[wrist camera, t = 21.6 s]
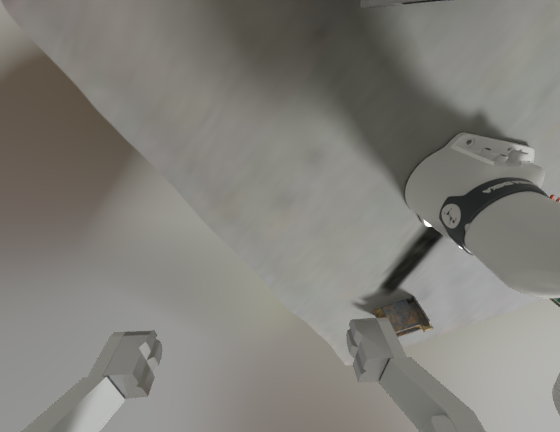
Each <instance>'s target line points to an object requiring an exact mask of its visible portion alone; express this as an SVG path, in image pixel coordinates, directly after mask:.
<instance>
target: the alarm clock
mask: <svg viewBox="0 0 560 432" xmlns="http://www.w3.org/2000/svg"><path fill="white" fill-rule="evenodd" d="M442 1H453V0H360V7H362V8H368V7H382V6H395V5H407V4H419V3H430V2H442Z"/></svg>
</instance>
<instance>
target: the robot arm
mask: <svg viewBox="0 0 560 432" xmlns="http://www.w3.org/2000/svg"><path fill="white" fill-rule="evenodd" d="M468 140H469V141H468ZM467 141H468V142H467ZM533 161H534V148H532V147H530V146H527V145H523V144H518V143H513V142H508V141H504V140H499V139H494V138H489V137H485V136H480V135H475V134H470V133H466V132H462V133H459V134H458V135H456V136H455V137H454V138H453V139H452V140H451V141H450V142H449V143H448V144H447V145H446V146H445V147H443V148H442V149H440V150H438V151H437V152H435V153H433V154H432V155H430V156H429V157H427V158H426V159H425V160H424V161H422V162H421V163H420V164H419V165H418V166H417V168H416V169H415V170H414V171H413V173H412V174H411V176H410V178H409V180H408V182H407V185H406V189H405V199H406V203H407V205H408V206H409V208H410V209H411V210H412V211H414V212H415V213H416V214H418V215H419V216H420V219H421V221H422V223H423V224H424V225H426V226H427V227H431V226H432V227H434V228H435V229H436V230H437V231H439V232H440V233H441V234H443V235H444V236H445V237H446V238H448V239H449V240H451V241H454V242H455V243H456V244H457V245H458V246H459V247H460V248H461V249H463V250H464V251H466V252H467V253H469V254H471V255H473V256H475V257H476V258H477V259H479V260H480V261H481V262H482V263H483V264H484V265H485V266H486V267H487V268H488V269H489V270H490V271H492V272H493V273H494V274H495V275H496V276H497V277H498V278H499V279H500V280H501V281H502V282H504V283H505V284H506V285H507V286H508V287H509V288H511V289H513V290H515V291H517V292H520V293H523V294H526V295H529V296H533V297H538V298H560V203H559V202H558V201H559V200H560V198H558V199H557V200H556V201H554V196H555V195H551V196H550V198H549V197H548V196H547V194H546V193H545V192H543V191H542V190H541V187H542V184H543V181H544V171H543V169H542V168H541V167H539V166H537V165H534V164H533ZM349 326H350V329H349V330H348V331H347V335H346V336H347V346H348V350H349V353H350V355H351V356H352V357H353V358H354V359H355V360H354V363H353V367H354V370H355V373H356V377H357V380H358V382H378V381H379V384H380V385H381V386H382V387H383V388H384V390H385V391H386V392H387V393H388V394H389V396H390V397H391V398H392V399H393V400H394V402H395V403H396V404H397V405H398V406H399V407H400V409H401V410H402V411H403V412H404V413H405V415H406V416H407V417H408V418H409V419H410V421H411V422H412V423H413V424H414V425H415V426H416V428H417V429H418V430H419V432H485V430H484V428H483V427H482V425H481V423H480V421H479V420H478V418H477V416H476V415H475V413H474V412H473V411H472V410H471V409H470V408H469V407H468V406H466V405H465V404H464V403H463V402H462V401H460V400H459V399H458V398H457V397H456V396H455V395H454V394H453V393H451V392H450V391H449V390H448V389H447V388H446V387H444V386H443V385H442V384H441V383H440V382H439V381H438V380H436V379H435V378H434V377H433V376H432V375H431V374H429V373H428V372H427V371H426V370H425V369H424V368H422V367H421V366H420V365H419V364H418V363H417V362H416V361H415V360H413V359H412V358H411V357H407V356H406V354H405V352H404V350H403V348H402V346H401V344H400V342H399V340H398V338H397V336H396V334H395V332H394V329H393V327H392V325H391V323H390V321H389V320H388V319H387V318H366V319H353V320H350V323H349ZM156 336H157V334H156V332H155V331H154V330H153V331H136V332H115V333H113V334H112V335H111V336H110V338H109V339H108V341H107V343H106V345H105V346H104V348H103V350H102V352H101V354H100V355H99V357H98V359H97V361H96V363H95V364H94V366H93V368H92V370H91V372H90V374H89V375H88V377H86V378H83V379H81V380H80V381H79V382H78V383H77V384H75V385H74V386H73V387H72V388H71V389H70V390H69V391H68V392H66V393H65V394H64V395H63V396H62V397H61V398H59V400H57V401H56V402H55V403H54V404H52V405H51V406H50V407H49V408H48V409H47V410H46V411H44V412H43V413H42V414H41V415H40V416H39V417H38V418H37V419H35V420H34V421H33V422H32V423H31V424H30V425H28V426H27V427H26V428H25V429H24V430H23V431H21V432H99V431H100V430H101V429H102V428H103V426H104V425H105V424H106V423H107V422H108V420H109V419H110V418H111V417H112V416H113V414H114V413H115V412H116V411H117V410H118V408H119V407H120V406H121V405H122V404H123V402H124V401H125V399H127V398H137V397H147V396H148V395H149V392H150V389H151V386H152V383H153V380H154V374H153V371H154V370H155V368H156V367H157V366H158V365H159V363H160V360H161V355H162V345H161V342H160V341H159V340H157V339H156ZM552 393H553V401H554V404H555V406H556V409H557V411H558V413H559V415H560V373H559V375H558V378H557V380H556V382H555V385H554V387H553V392H552Z"/></svg>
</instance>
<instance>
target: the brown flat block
mask: <svg viewBox="0 0 560 432" xmlns="http://www.w3.org/2000/svg"><path fill="white" fill-rule="evenodd" d="M413 298H414V302H412V303H409V304H408V302H407V300H406V299H405V300H403V301H400V302H397V303H394V304H392V305H389V306H386V307H383V308H380V309H377V310H375V311H373V312H374V314H375V317H376V318H387V319H388V320H389V321H390V323H391V325H392V327H393V329H394V332H395V334H396V336H397V338H398V337H401V336H404V335H407V334H410V333H413V332H416V331H419V330H422V329H423V331H424V332H425V331H426V330H429V329H433V327H432V325H431V323H430V320H429V319H428V317H427V316H426V314H425V312H424V311H423V309H422V308H421V306H420V305H419V303H418V301H417V300H416V298H415V297H414V296H413Z"/></svg>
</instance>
